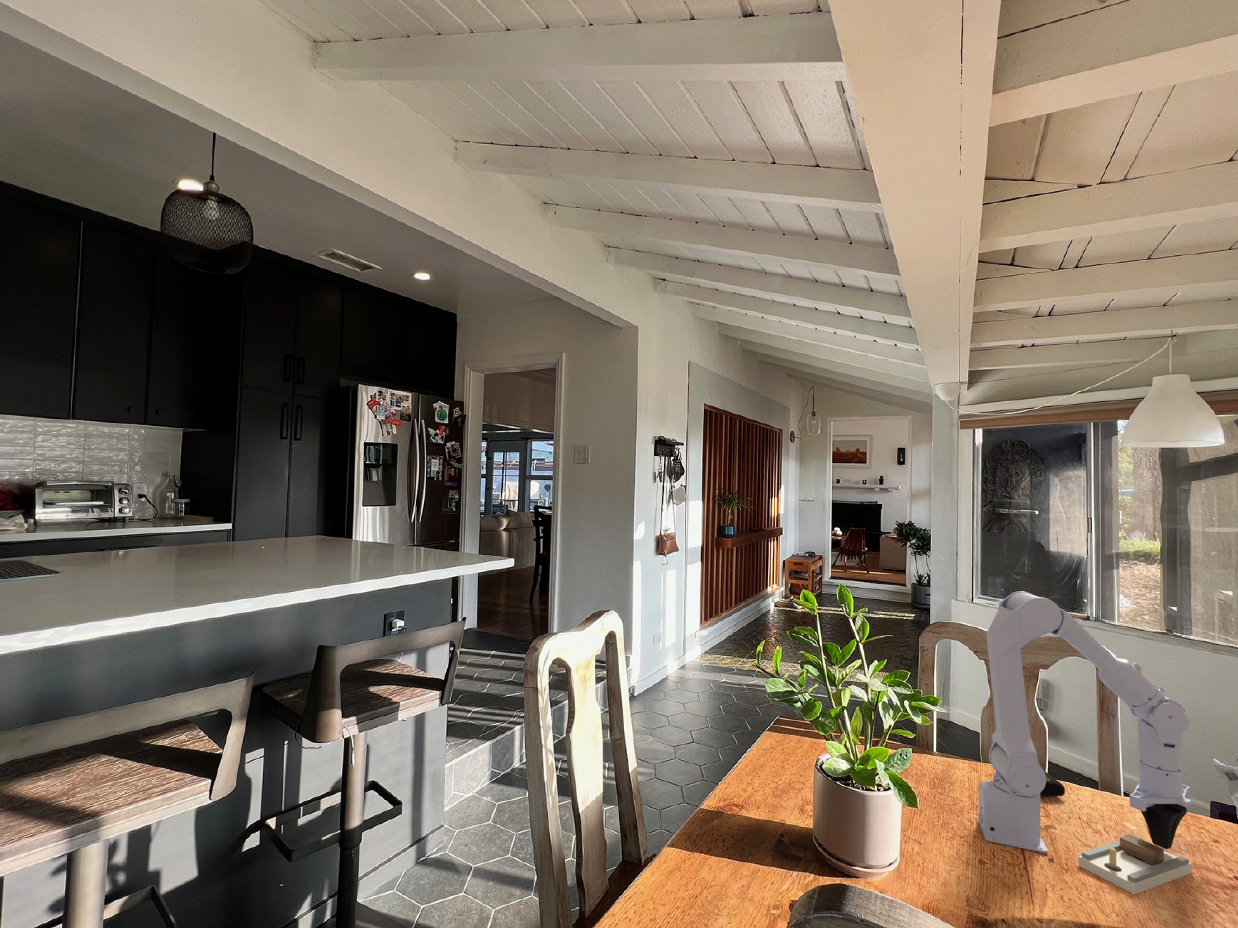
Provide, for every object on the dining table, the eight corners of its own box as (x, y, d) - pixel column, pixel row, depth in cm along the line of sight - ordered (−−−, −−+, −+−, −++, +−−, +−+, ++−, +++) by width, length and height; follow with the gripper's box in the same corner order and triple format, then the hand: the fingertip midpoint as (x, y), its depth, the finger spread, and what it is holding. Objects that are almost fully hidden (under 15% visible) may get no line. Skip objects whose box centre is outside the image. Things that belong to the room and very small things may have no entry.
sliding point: (1153, 864, 100) (1153, 849, 100) (1119, 849, 104) (1119, 834, 104) (1163, 861, 101) (1163, 845, 101) (1130, 845, 105) (1129, 830, 105)
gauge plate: (1134, 894, 95) (1134, 865, 95) (1078, 865, 102) (1078, 838, 102) (1192, 872, 101) (1191, 845, 101) (1135, 846, 108) (1135, 821, 109)
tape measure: (1066, 802, 125) (1066, 783, 125) (1030, 798, 126) (1030, 779, 126) (1048, 786, 132) (1048, 769, 132) (1014, 783, 133) (1014, 765, 133)
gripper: (1164, 780, 99) (1166, 866, 98) (1211, 768, 105) (1213, 849, 104) (1114, 762, 106) (1116, 843, 105) (1162, 752, 111) (1163, 828, 110)
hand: (1161, 845), depth 105 cm, fingers closed
